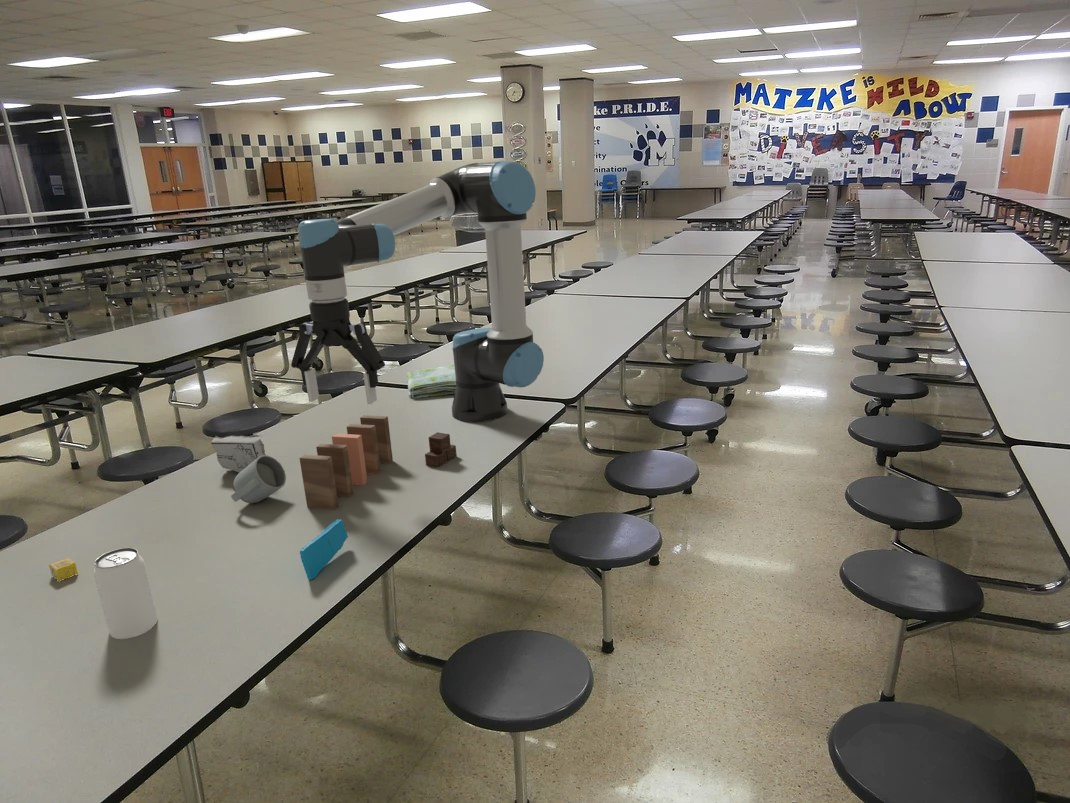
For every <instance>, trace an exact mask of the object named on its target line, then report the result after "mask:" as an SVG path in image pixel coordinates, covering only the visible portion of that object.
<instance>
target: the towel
mask: <svg viewBox="0 0 1070 803" xmlns="http://www.w3.org/2000/svg"><path fill="white" fill-rule="evenodd" d="M406 377H407V390H408V393H407V394H408V397H409V399H421V398H422V397H423V398H428V397H429V396H430V397H437V396H438V397H439V396H444V395H445V396H446V395H455V392H456V376H455V366H454V364H450V365H445V366H439V367H430V368H423V369H417V370H412V371H408V372H406ZM423 398H422V399H423Z"/></svg>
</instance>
